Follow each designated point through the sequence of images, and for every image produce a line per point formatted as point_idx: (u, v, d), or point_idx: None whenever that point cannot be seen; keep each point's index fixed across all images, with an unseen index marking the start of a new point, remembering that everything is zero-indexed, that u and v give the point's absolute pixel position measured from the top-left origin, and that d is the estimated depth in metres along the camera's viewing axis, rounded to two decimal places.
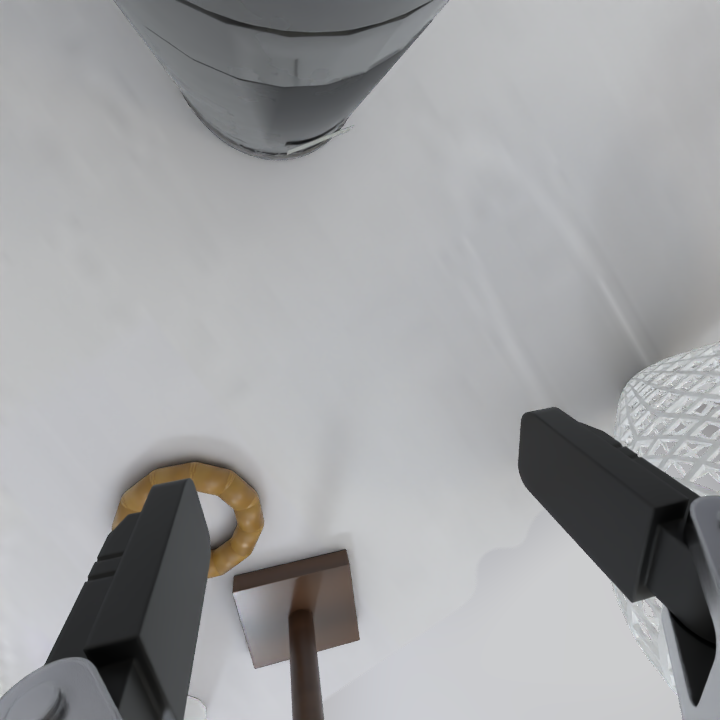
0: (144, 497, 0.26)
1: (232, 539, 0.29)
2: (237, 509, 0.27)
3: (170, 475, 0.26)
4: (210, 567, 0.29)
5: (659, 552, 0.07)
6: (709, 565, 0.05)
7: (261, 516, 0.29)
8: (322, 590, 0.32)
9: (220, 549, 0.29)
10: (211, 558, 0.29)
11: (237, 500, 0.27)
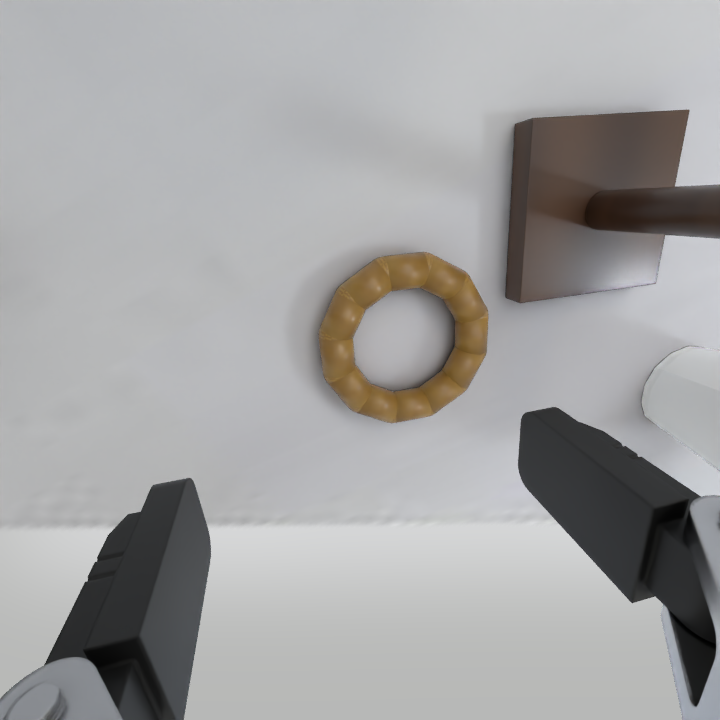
0: (349, 390, 0.22)
1: (439, 296, 0.22)
2: (388, 286, 0.20)
3: (326, 360, 0.21)
4: (470, 327, 0.22)
5: (659, 552, 0.07)
6: (709, 565, 0.05)
7: (411, 255, 0.20)
8: (566, 171, 0.20)
9: (451, 312, 0.22)
10: (460, 324, 0.22)
11: (373, 285, 0.20)
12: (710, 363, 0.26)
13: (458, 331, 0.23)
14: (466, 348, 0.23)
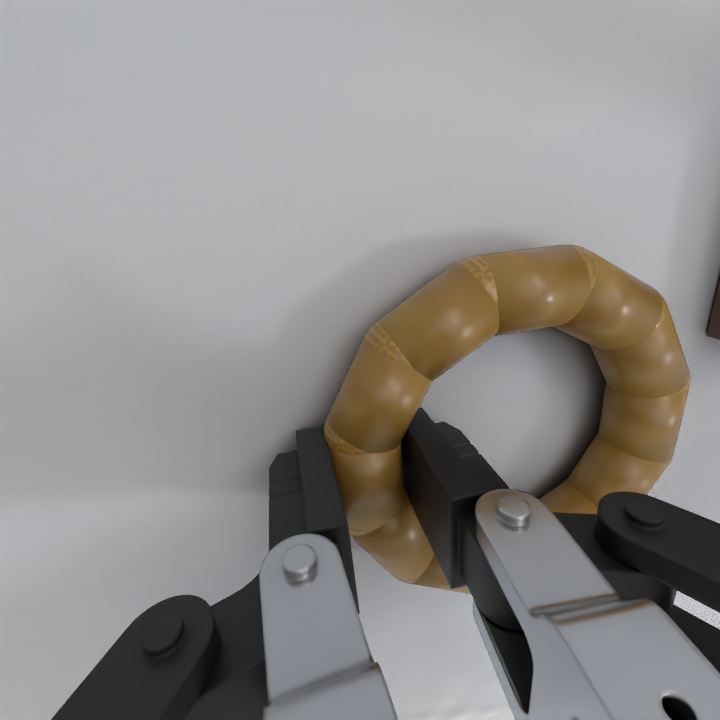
0: (391, 551, 0.10)
1: (592, 343, 0.10)
2: (492, 329, 0.08)
3: (341, 492, 0.09)
4: (654, 408, 0.10)
5: (462, 541, 0.07)
6: (506, 573, 0.06)
7: (545, 251, 0.09)
8: None
9: (611, 374, 0.10)
10: (628, 399, 0.10)
11: (458, 328, 0.08)
12: None
13: (619, 412, 0.11)
14: (637, 449, 0.11)
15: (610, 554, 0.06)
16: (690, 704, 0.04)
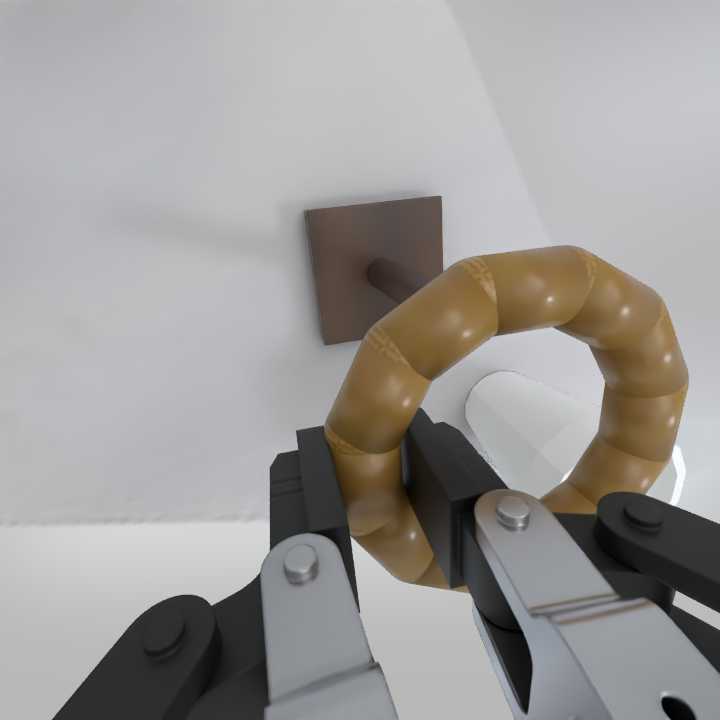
0: (392, 551, 0.10)
1: (591, 343, 0.10)
2: (491, 329, 0.08)
3: (341, 493, 0.09)
4: (653, 408, 0.10)
5: (462, 541, 0.07)
6: (505, 573, 0.06)
7: (544, 252, 0.09)
8: (343, 246, 0.26)
9: (610, 374, 0.10)
10: (627, 399, 0.10)
11: (457, 328, 0.08)
12: (500, 387, 0.31)
13: (618, 412, 0.11)
14: (636, 448, 0.11)
15: (609, 554, 0.06)
16: (690, 704, 0.04)
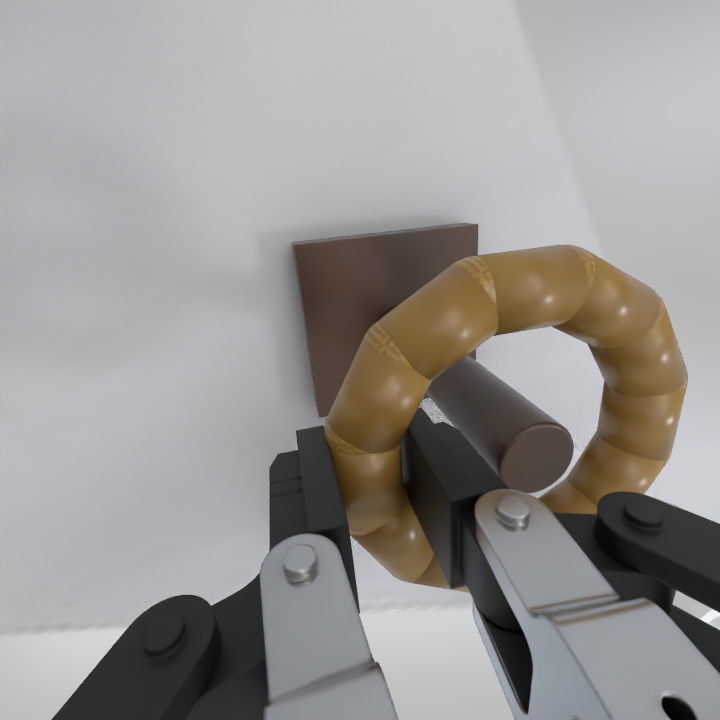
0: (392, 551, 0.10)
1: (591, 342, 0.10)
2: (491, 329, 0.08)
3: (342, 493, 0.09)
4: (652, 407, 0.10)
5: (462, 541, 0.07)
6: (506, 573, 0.06)
7: (543, 252, 0.09)
8: (344, 291, 0.19)
9: (609, 373, 0.10)
10: (626, 398, 0.10)
11: (457, 328, 0.08)
12: None
13: (617, 411, 0.11)
14: (635, 447, 0.11)
15: (609, 554, 0.06)
16: (690, 704, 0.04)
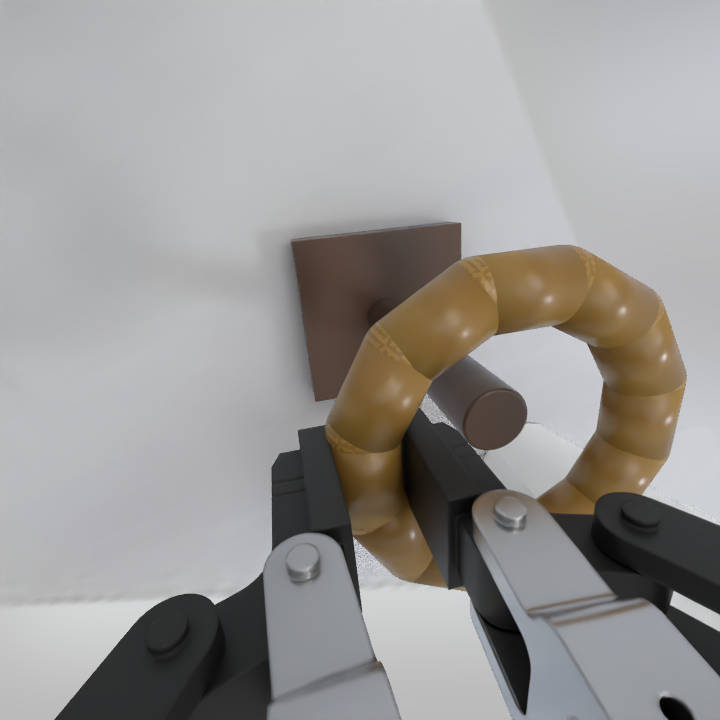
0: (393, 550, 0.10)
1: (590, 342, 0.10)
2: (491, 328, 0.08)
3: None
4: (651, 406, 0.10)
5: (460, 542, 0.07)
6: (503, 574, 0.06)
7: (543, 251, 0.09)
8: (338, 284, 0.21)
9: (608, 373, 0.10)
10: (625, 397, 0.11)
11: (458, 327, 0.08)
12: (526, 448, 0.26)
13: (616, 410, 0.11)
14: (634, 446, 0.11)
15: (607, 555, 0.06)
16: (688, 704, 0.04)
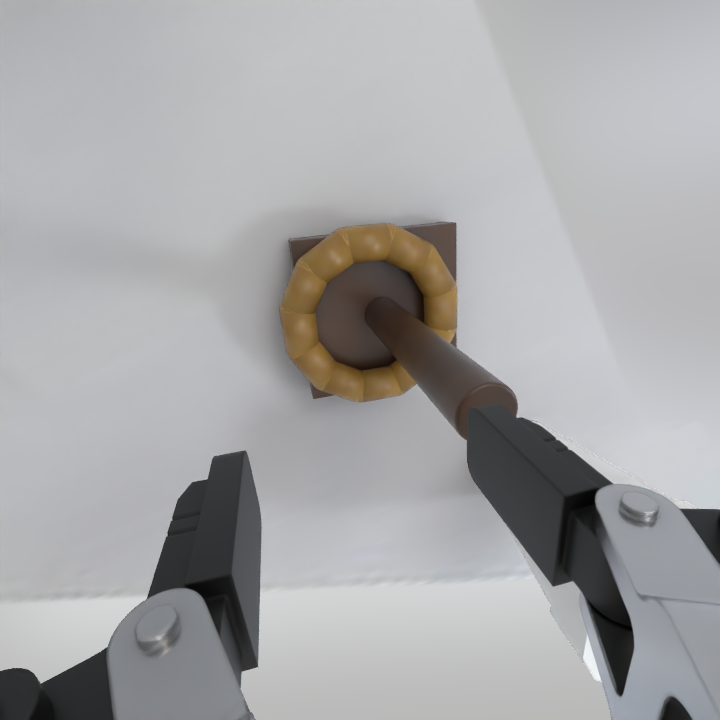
0: (312, 367, 0.21)
1: (404, 269, 0.21)
2: (349, 258, 0.20)
3: (287, 336, 0.21)
4: (437, 301, 0.21)
5: (573, 538, 0.07)
6: (619, 557, 0.06)
7: (373, 225, 0.20)
8: (336, 283, 0.22)
9: (418, 286, 0.21)
10: (428, 299, 0.22)
11: (332, 256, 0.19)
12: None
13: (426, 306, 0.22)
14: (434, 324, 0.22)
15: None
16: None
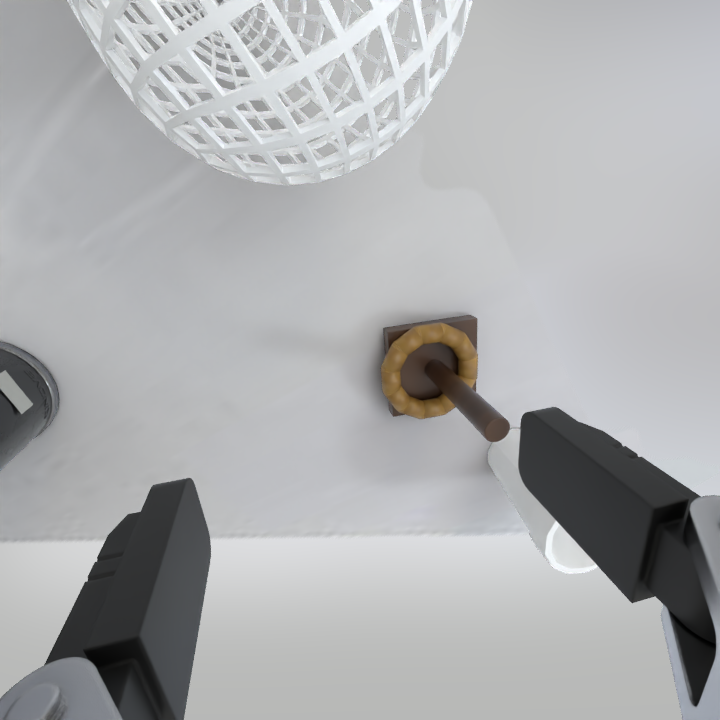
0: (397, 400, 0.38)
1: (449, 346, 0.38)
2: (421, 343, 0.36)
3: (385, 383, 0.37)
4: (467, 363, 0.38)
5: (659, 552, 0.07)
6: (709, 565, 0.05)
7: (434, 325, 0.37)
8: None
9: (456, 354, 0.38)
10: (461, 361, 0.39)
11: (413, 343, 0.36)
12: (514, 443, 0.43)
13: (460, 365, 0.39)
14: (465, 375, 0.39)
15: None
16: None
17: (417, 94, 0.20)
